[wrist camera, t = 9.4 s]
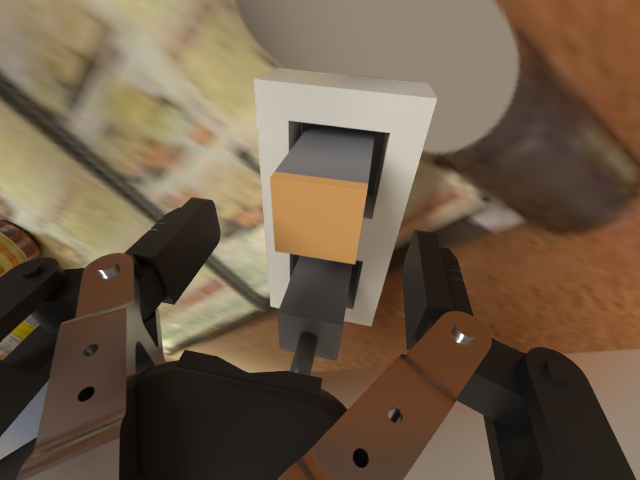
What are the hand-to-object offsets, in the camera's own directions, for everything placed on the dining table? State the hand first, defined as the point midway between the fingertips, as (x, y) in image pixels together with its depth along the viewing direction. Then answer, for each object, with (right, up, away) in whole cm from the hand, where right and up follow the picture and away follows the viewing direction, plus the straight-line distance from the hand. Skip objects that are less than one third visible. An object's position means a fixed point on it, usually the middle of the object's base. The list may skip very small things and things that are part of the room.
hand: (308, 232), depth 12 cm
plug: (+2, +5, +7) cm, 9 cm away
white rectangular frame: (+2, +2, +11) cm, 11 cm away
